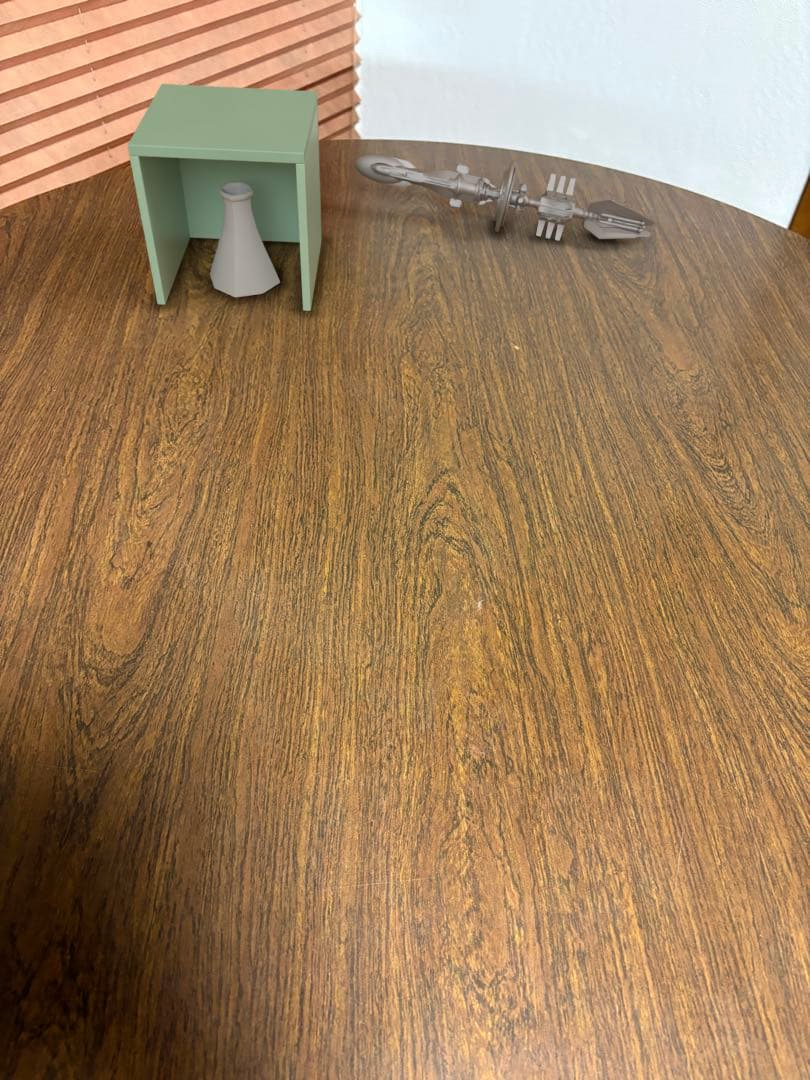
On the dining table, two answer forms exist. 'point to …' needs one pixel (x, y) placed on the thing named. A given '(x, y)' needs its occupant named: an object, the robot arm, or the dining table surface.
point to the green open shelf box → (227, 171)
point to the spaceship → (511, 197)
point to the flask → (241, 248)
